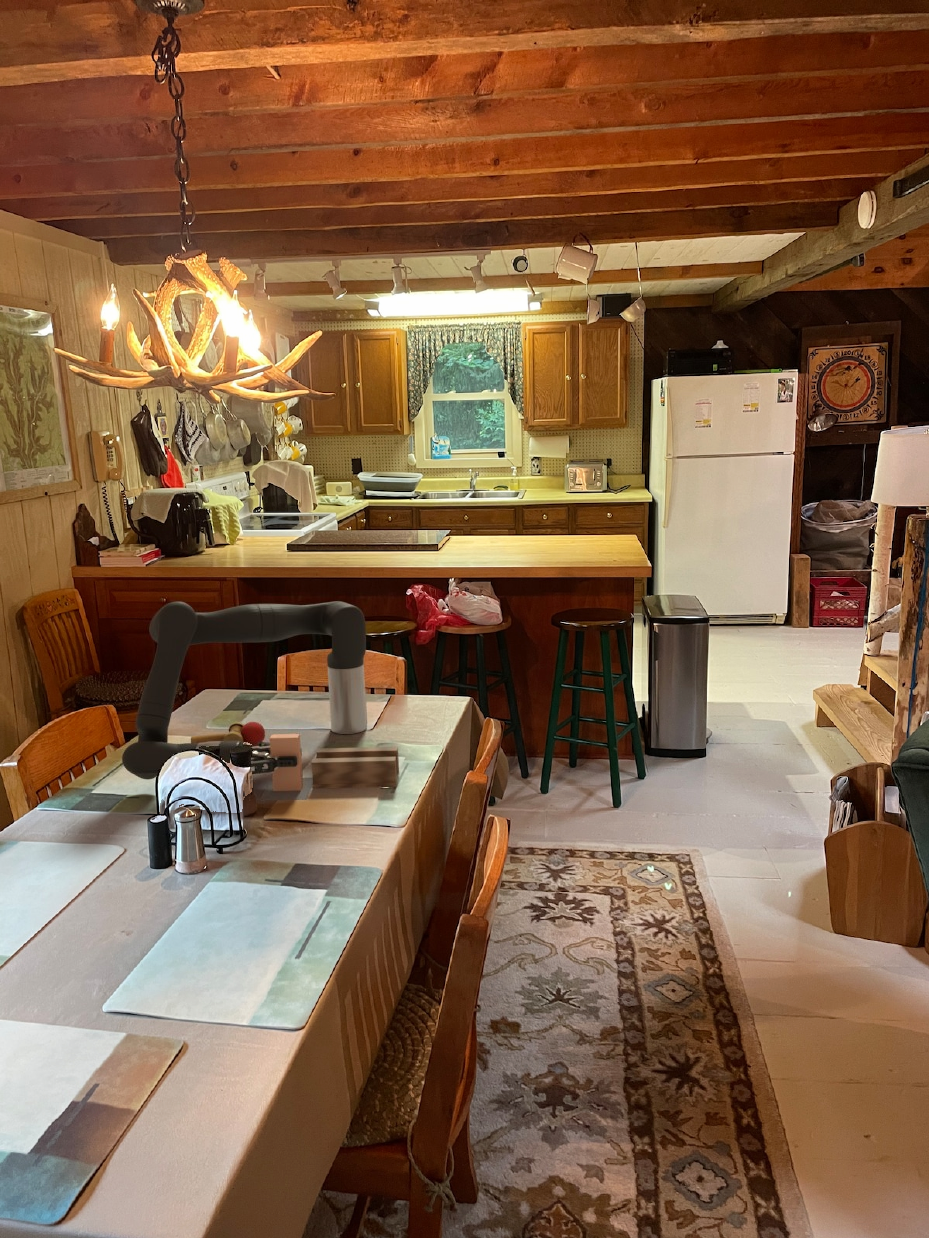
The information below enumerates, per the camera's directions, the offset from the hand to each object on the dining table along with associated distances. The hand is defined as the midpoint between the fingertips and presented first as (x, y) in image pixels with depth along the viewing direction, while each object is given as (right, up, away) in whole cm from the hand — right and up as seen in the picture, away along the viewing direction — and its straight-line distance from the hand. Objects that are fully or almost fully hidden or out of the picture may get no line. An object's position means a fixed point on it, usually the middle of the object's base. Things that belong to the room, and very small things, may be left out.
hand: (298, 756), depth 195 cm
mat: (-2, -7, +2) cm, 8 cm away
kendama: (-23, -2, +30) cm, 38 cm away
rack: (+12, -6, +6) cm, 15 cm away
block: (-2, -7, +2) cm, 8 cm away
